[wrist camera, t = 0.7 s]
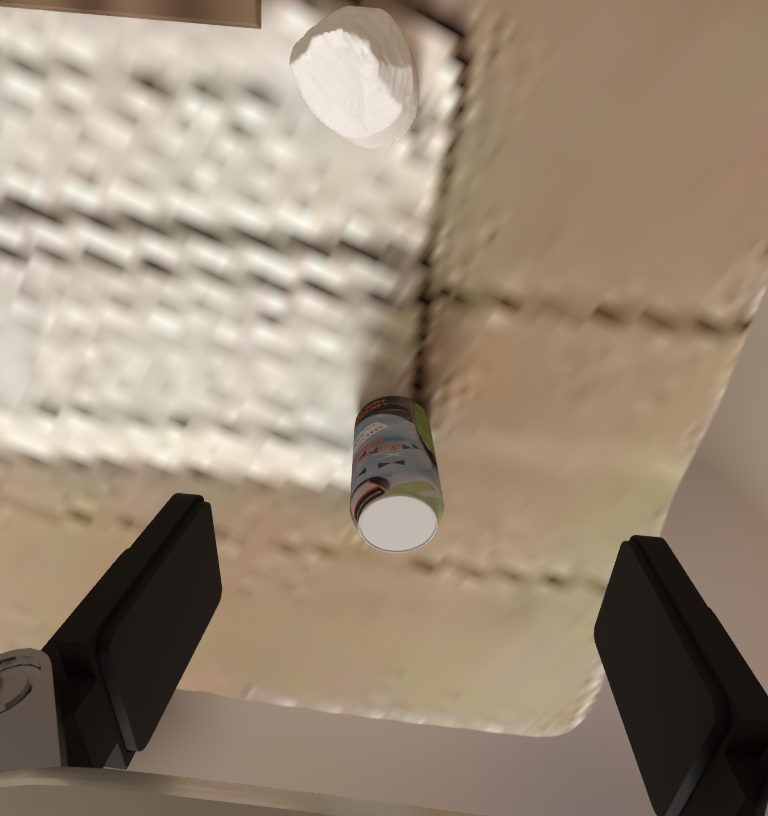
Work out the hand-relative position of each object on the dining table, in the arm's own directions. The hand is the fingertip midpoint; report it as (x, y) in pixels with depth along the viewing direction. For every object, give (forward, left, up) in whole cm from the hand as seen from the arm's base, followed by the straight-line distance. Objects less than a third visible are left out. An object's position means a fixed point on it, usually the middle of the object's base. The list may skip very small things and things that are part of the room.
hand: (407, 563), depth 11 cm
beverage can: (-1, -11, -27) cm, 29 cm away
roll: (-5, +12, -27) cm, 30 cm away
